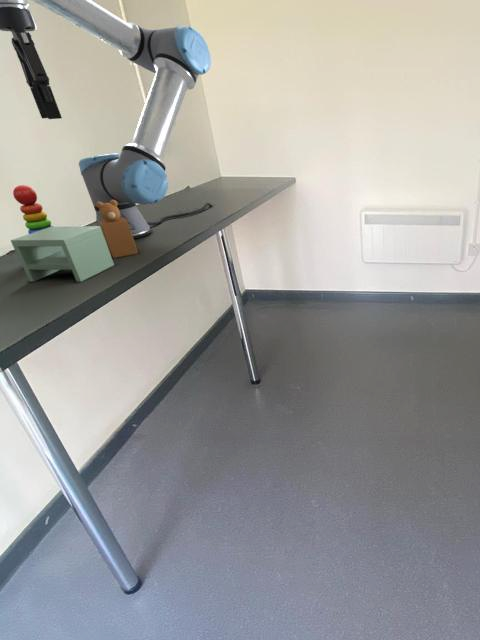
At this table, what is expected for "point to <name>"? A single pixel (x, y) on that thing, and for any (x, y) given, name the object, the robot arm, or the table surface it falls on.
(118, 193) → the robot arm
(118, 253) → the plush bear
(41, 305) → the table surface
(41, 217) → the stacking toy
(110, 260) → the pale green square stand
